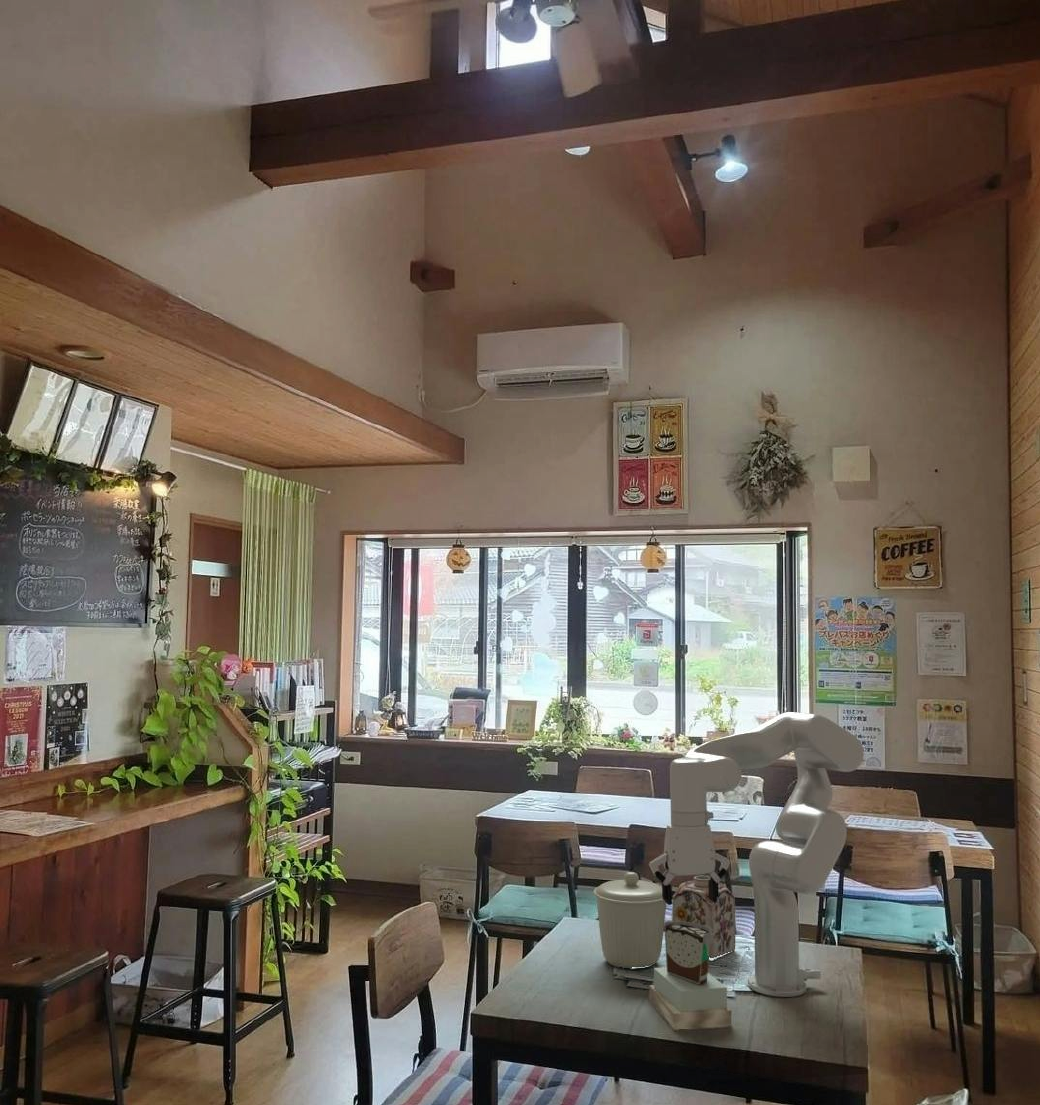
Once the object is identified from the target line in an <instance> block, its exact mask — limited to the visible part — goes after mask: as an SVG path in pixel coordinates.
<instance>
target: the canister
mask: <svg viewBox="0 0 1040 1105" xmlns="http://www.w3.org/2000/svg"><path fill="white" fill-rule="evenodd" d="M593 895H594V896H595V899H596V905H597V906H596V907H597V909H596V910H597V914H598V915H597V918H598V928H599V936H600V942H601V951H602V955H603V957H604V959H605V961H606V962H607V963H608V964H610V965H612V966H613V967H616V968H620V967H622V968H621V969H624V968H632V967H645V966H650V965H653V964H655V963H656V964H657V963H658V961H659V960H660V957H661V954H662V948H663V947H662V945H663V941H664V940H663V939H664V932H663V925H664V922H666V921H665V920H666V909H667V903H666V902H665V900H663V898H662V885H659V884H658V883H654V882H651V881H647V880H640V879H639V875H638V874H637V873H636V872H634V871H627V872H625V874H624V875H623V879H614V880H609V881H605V882H604V883H603V882H602V884H600V885H599V886H597V887H595V888H594V890H593ZM656 964H655V965H656ZM653 966H654V965H653Z"/></svg>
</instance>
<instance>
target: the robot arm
mask: <svg viewBox="0 0 1040 1105" xmlns="http://www.w3.org/2000/svg"><path fill="white" fill-rule="evenodd" d="M792 752H793V755H794V761H795V763H796V770H797V782H796V784H795V787H794V789H793V791H792V793H791V795H789V798H788V799H787V801H786V803H785V805H784V807H783V809H782V810H781V812H780V815H778V819H777V820H776V824H775V830H776V835H777V837H778V838H779V839H780V840H782V841H783V842H780V841H776V840H763V841H760V842H758V843H756V844H755V845H754V846H753V847H752V849H751V851H750V853H749V856H748V857H749V858H748V867H749V868H748V869H749V873H750V874H749V875H750V878H751V882H752V890H753V899H754V900H753V902H754V903H753V904H754V906H753V910H754V911H753V912H754V914H753V916H754V974H752V975H750V976H749V977H748V979H747V985H748V984H749V985H750V987H751V988H752V989H751V988H750V987H749V988H750V989H751V990H752V991H754V992H755V993H759V994H762V995H766V996H771V997H776V998H779V997H780V998H792V997H798V996H802V995H803V994H805V993H806V992H807V987H808V985H807V983H806V982H807V981H808V980H820V979H821V972H820V971H821V970H819V969H810V967H802V966H800V954H799V953H800V951H799V950H800V945H799V941H800V940H799V939H800V938H799V906H798V905H799V904H798V902H797V897H796V895H795V893H798V894H802V895H809V896H810V895H813V894H816V893H817V892H819V891H820V890H821V889H822V888H823V886H824V885H825V884H826V882H827V880H828V878H829V876H830V874H831V873H832V870H833V868H834V867H835V865H836V863H837V861H838V859H839V856H840V855H841V853H842V851H843V849H844V846H845V843H846V840H847V834H848V833H847V832H848V831H847V824H846V820H845V819H844V817H843V816H842V815H841V814H840V813H839V812H838V811H835V810H833V809H832V808H831V809H830V808H829V807H830V804H831V803H832V801H833V795H834V792H833V787H832V786H833V785H832V783H831V782H830V778H829V775H828V773H827V770H829V771H837V772H844V773H845V772H846V773H847V772H848V773H849V772H853V771H856V770H857V769H859V767H861V765H862V763H863V760H864V756H865V755H864V754H865V753H864V747H863V745H862V743H861V741H860V739H859V738H857V736H856V735H855V734H853V733H852V732H850V731H849V730H847V729H845V728H844V727H842V726H840V724H839V725H838V724H837V723H836V722H834V721H833V720H831V719H829V718H827V717H826V716H823V715H821V714H817V713H816V714H815V713H807V712H796V711H794V712H793V711H788V712H782V713H780V714H778V715H776V716H774V717H772V718H770V719H769V720H767V721H765V722H763V723H761V724H759V725H757V726H756V727H753V728H751V729H749V730H748V731H744V732H739V733H736V734H732V735H729V736H724V737H721V738H717V739H712V740H709V741H707V742H705V743H702V744H700V745H698V746H697V747H694V748H693V749H691V750H689V751H688V752H687V753H685V754H684V755H683V756H682V757H680V758H675V759H673V760H671V762H670V764H669V781H670V782H669V784H670V785H669V787H670V788H669V790H670V793H669V794H670V797H669V798H670V823H668V824H666V828H665V834H664V844H663V845H664V846H663V853H662V854H661V855H659V856H657V857H656V858H653V860H651V861H649V863H648V865H649V866H648V867H649V868H650V869H651V871H652V874H653V876H655V877H656V879H658V880H659V881H660V882H661V887H662V898H663V900H665V902H666V905H668V906H671V905H673V889H672V888H673V887H672V885H671V881H672V880H673V879H674V877H676V876H679V877H680V876H681V877H682V876H705V875H707V876H710V879H709V881H708V887H709V899H710V900H711V901H712V902H714V903H717V897H719V887H718V883H721V881H722V879H723V878H724V876H725V875H726V874H727V870H728V869H729V867H730V864H731V860H730V859H729V858H727V857H725V856H724V855H721V854H719V853H717V852H715V845H714V840H713V839H714V838H713V833H712V827H711V825H710V823H709V820H711V819H714V812H712V811H709V810H707V809H708V807H707V806H708V805H707V804H708V803H707V801H708V800H707V793H728V792H731V791H733V790H735V789H736V788H738V786H739V785H740V782H741V780H742V775H743V773H742V770H750V769H751V770H752V769H758V768H764V767H767V766H769V765H771V764H772V763H775V762H776V761H778V760H780V759H782V758H783V757H784V756H787V755H788V754H790V753H792ZM716 861H718V862H720V866H719V867H718V868H717V869H716ZM661 865H663V867H664V868H663V869H665V871H664V872H663V873H661V871H660V869H659V866H661ZM715 869H716V870H715ZM749 985H748V986H749Z"/></svg>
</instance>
